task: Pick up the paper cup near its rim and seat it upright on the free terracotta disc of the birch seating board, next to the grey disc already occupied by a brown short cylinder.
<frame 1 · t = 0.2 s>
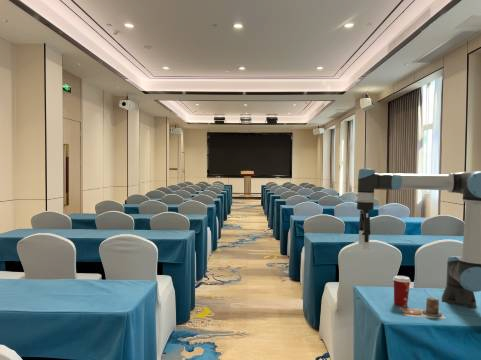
hand: (363, 246, 210), 27 cm above the table, fingers open, 13 cm apart
brown short cylinder: (432, 312, 196), point 2 cm above the table, touching grey pad
grey pad: (432, 313, 196), resting on seating board
seating board: (421, 315, 197), on the table
terracotta pad: (411, 312, 197), resting on seating board
paper cup: (400, 307, 208), on the table
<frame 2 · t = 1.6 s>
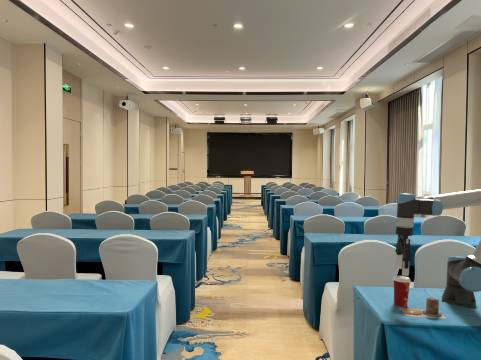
hand: (401, 271, 208), 17 cm above the table, fingers open, 13 cm apart
nothing on the table moved.
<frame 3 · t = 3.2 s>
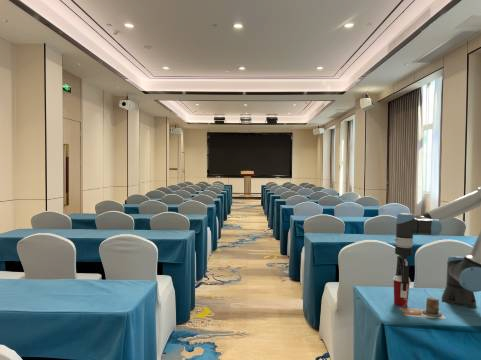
hand: (401, 294, 208), 6 cm above the table, fingers closed on paper cup, 8 cm apart
paper cup: (400, 307, 208), on the table, touching gripper
everything else where it was.
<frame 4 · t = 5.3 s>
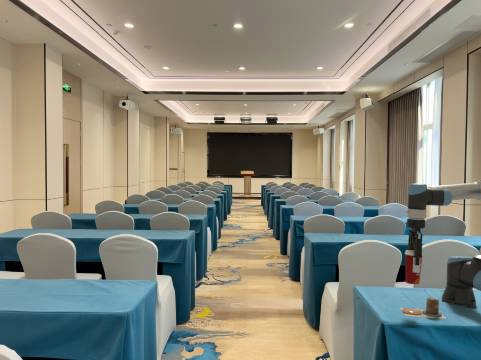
hand: (413, 270, 197), 20 cm above the table, fingers closed on paper cup, 8 cm apart
paper cup: (412, 283, 197), point 14 cm above the table, touching gripper
everything else where it was.
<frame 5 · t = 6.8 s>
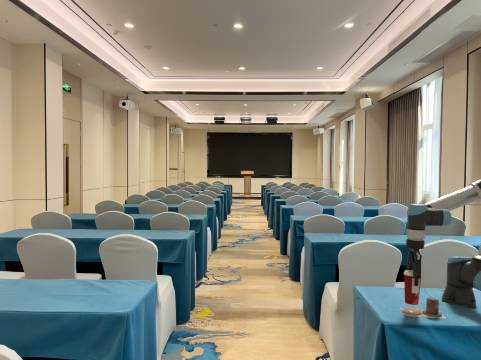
hand: (412, 290, 197), 11 cm above the table, fingers closed on paper cup, 8 cm apart
paper cup: (411, 303, 197), point 5 cm above the table, touching gripper
everything else where it was.
when the fingers open (8 cm above the table, at t = 7.8 s): paper cup stays where it is, resting on terracotta pad.
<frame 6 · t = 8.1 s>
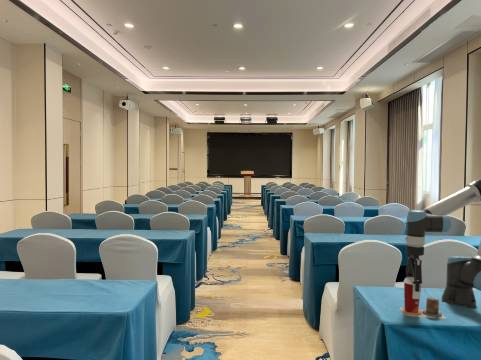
hand: (412, 294, 197), 9 cm above the table, fingers open, 11 cm apart
paper cup: (411, 311, 197), point 2 cm above the table, touching terracotta pad
everything else where it was.
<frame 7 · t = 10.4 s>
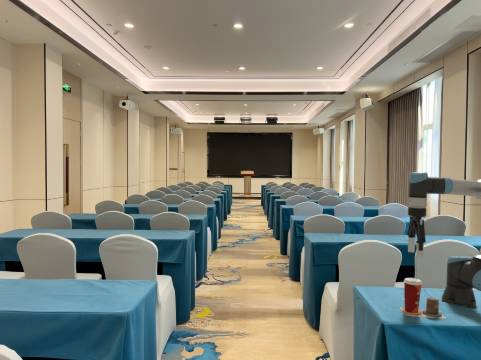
hand: (415, 255, 197), 27 cm above the table, fingers open, 13 cm apart
nothing on the table moved.
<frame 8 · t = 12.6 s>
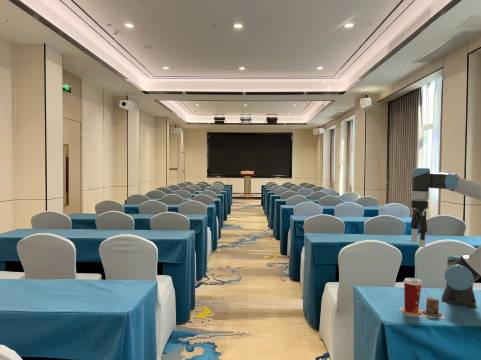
hand: (417, 244, 213), 29 cm above the table, fingers open, 13 cm apart
nothing on the table moved.
at the end: paper cup 0.2 cm from the terracotta pad (horizontally); paper cup tilted 0°; paper cup touching terracotta pad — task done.
